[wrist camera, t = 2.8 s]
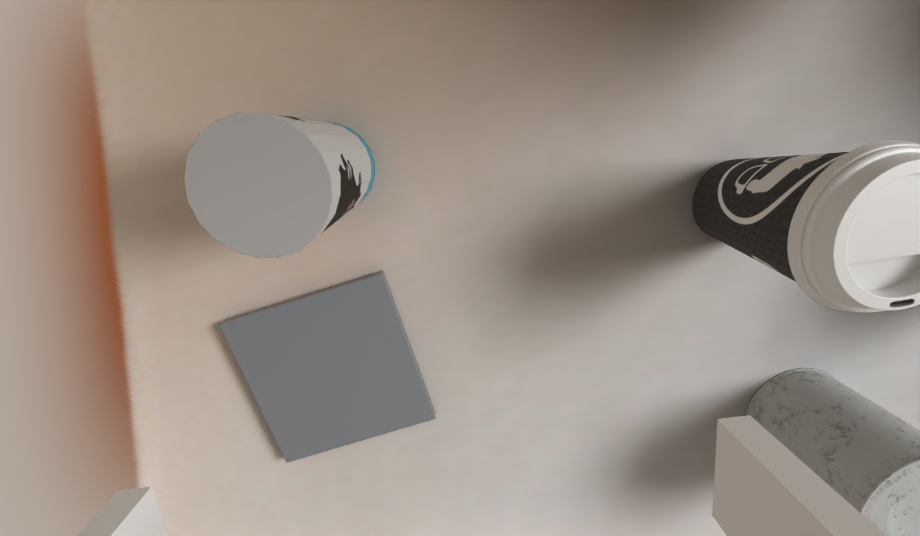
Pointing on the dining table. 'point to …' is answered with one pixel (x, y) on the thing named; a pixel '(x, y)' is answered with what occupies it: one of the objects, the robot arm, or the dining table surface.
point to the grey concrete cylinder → (847, 444)
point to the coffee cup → (825, 221)
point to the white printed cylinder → (275, 180)
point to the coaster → (330, 367)
